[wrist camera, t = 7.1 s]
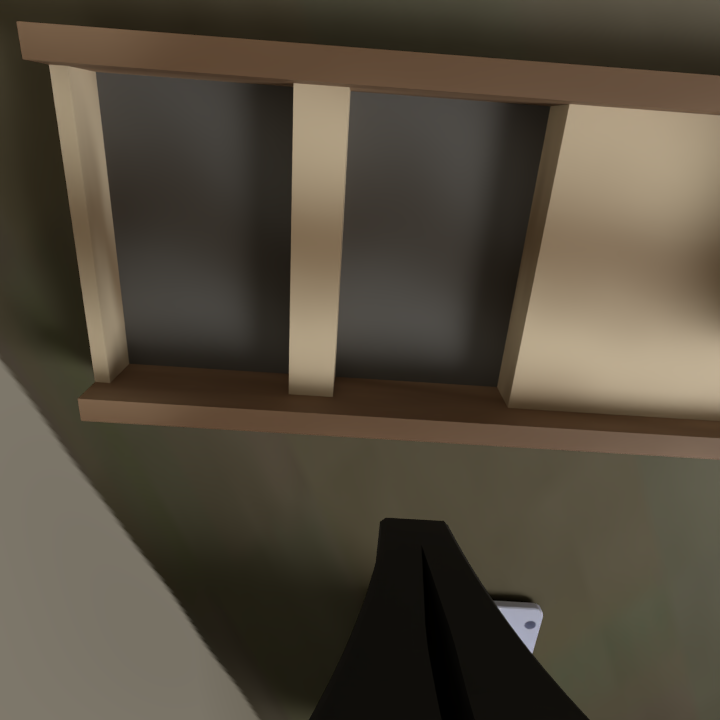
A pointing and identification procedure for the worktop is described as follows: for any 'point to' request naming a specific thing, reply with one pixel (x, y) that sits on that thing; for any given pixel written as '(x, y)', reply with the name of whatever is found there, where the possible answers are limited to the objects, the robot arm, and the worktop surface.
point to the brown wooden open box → (392, 241)
